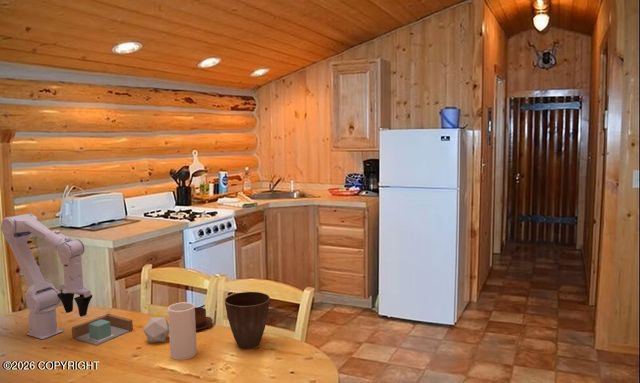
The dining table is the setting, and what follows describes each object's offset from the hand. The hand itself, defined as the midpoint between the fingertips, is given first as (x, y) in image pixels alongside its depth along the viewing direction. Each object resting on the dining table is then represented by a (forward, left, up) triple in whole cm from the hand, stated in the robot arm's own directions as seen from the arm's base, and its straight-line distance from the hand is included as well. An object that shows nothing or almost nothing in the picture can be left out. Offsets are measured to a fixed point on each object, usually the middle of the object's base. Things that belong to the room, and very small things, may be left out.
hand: (76, 313), depth 178 cm
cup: (+41, +9, -10) cm, 43 cm away
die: (+25, +13, -10) cm, 30 cm away
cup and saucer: (+28, +29, -10) cm, 41 cm away
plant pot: (+55, +25, -10) cm, 61 cm away
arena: (+4, +8, -9) cm, 13 cm away
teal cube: (+6, +5, -9) cm, 12 cm away
